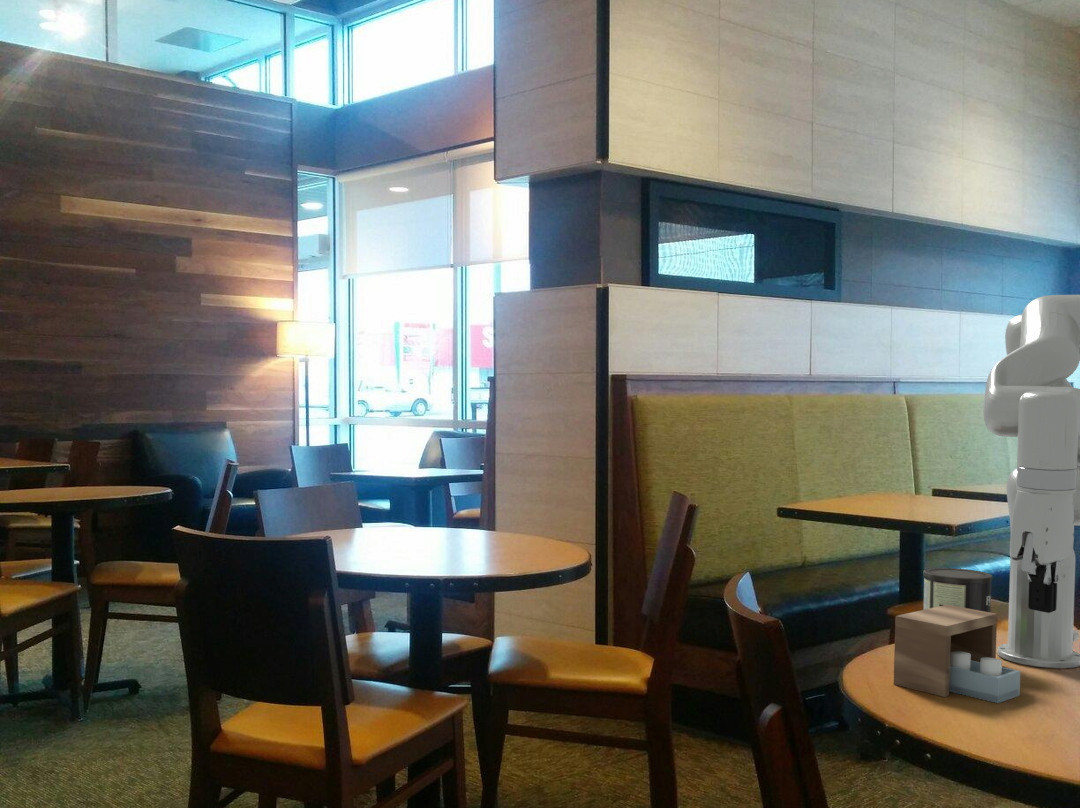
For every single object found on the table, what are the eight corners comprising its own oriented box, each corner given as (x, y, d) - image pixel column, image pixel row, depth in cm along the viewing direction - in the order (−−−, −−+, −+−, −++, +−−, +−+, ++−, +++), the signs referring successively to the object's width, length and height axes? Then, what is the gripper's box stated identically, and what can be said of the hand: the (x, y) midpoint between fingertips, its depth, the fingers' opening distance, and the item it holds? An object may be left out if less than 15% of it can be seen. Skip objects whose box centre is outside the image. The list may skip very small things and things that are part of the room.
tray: (953, 679, 160) (954, 646, 160) (1019, 695, 152) (1020, 660, 152) (930, 687, 155) (931, 652, 155) (997, 703, 148) (998, 667, 148)
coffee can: (982, 654, 176) (985, 569, 175) (996, 670, 166) (998, 580, 165) (916, 650, 178) (919, 565, 178) (926, 665, 168) (928, 576, 167)
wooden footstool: (944, 669, 166) (946, 604, 166) (995, 680, 160) (997, 613, 160) (893, 684, 156) (895, 616, 156) (944, 697, 150) (946, 626, 150)
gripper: (1043, 472, 156) (1039, 595, 157) (993, 482, 146) (990, 614, 148) (1097, 477, 150) (1092, 606, 152) (1049, 488, 140) (1044, 625, 142)
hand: (1042, 609), depth 150 cm, fingers closed
